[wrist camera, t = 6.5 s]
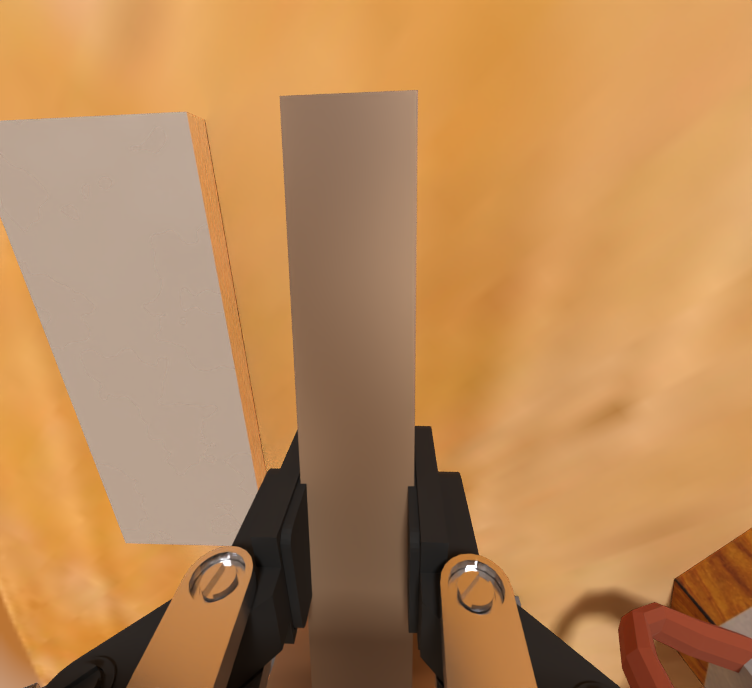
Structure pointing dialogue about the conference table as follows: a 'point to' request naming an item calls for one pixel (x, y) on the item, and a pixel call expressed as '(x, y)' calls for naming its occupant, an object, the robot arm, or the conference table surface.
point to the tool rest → (139, 313)
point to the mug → (697, 624)
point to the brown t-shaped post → (354, 381)
